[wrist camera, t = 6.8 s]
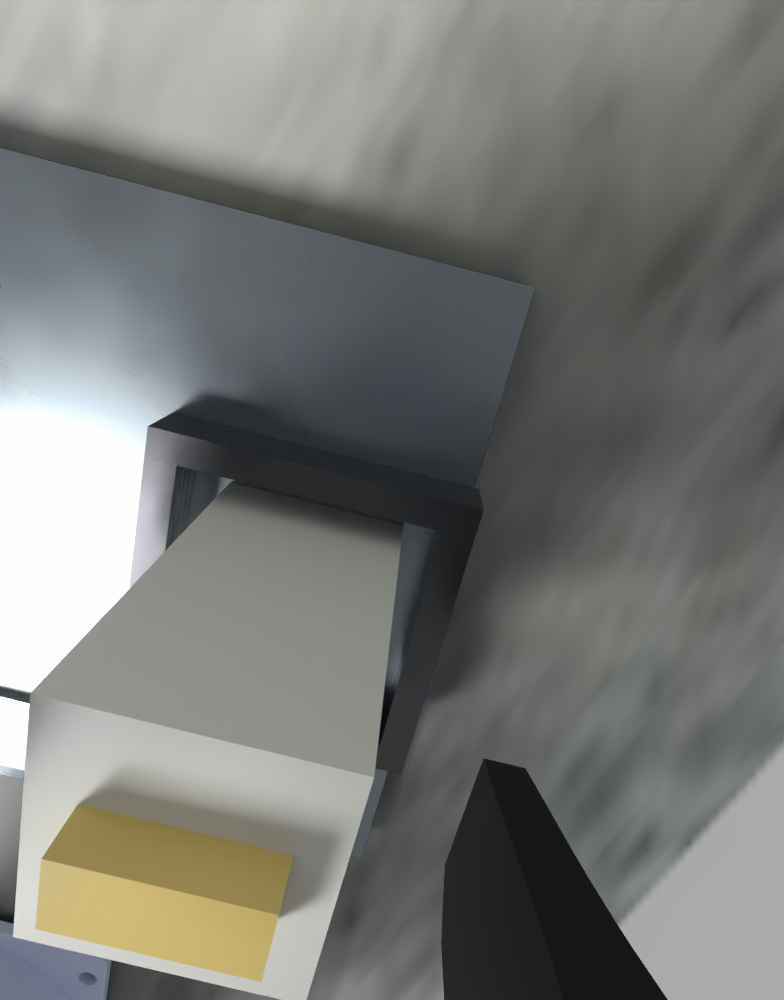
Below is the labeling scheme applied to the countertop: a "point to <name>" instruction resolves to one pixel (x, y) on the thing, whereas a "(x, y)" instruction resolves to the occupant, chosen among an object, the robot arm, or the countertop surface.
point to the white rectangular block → (214, 749)
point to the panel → (226, 408)
